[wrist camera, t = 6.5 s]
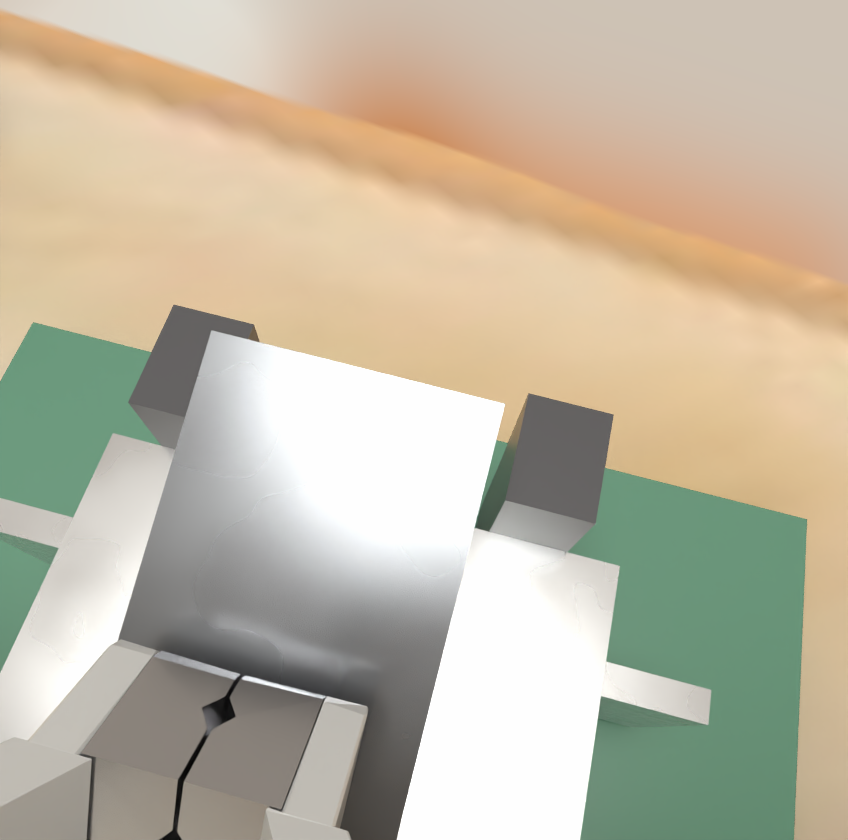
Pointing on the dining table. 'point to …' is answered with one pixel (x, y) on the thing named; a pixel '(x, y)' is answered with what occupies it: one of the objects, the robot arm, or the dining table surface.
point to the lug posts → (516, 474)
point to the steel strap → (319, 542)
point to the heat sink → (457, 678)
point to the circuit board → (606, 541)
